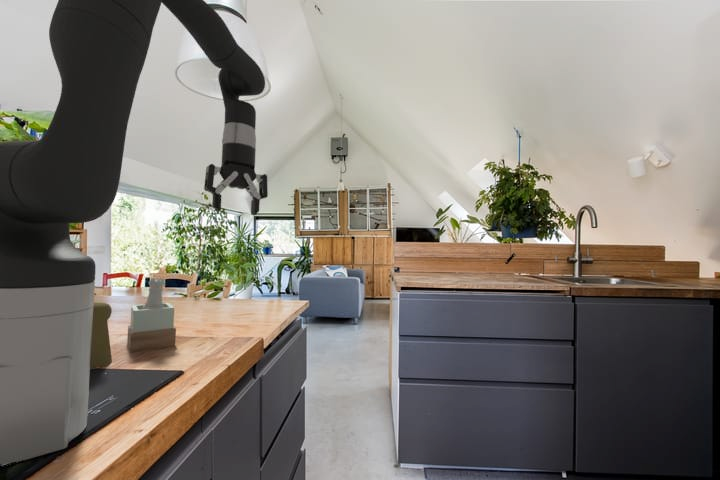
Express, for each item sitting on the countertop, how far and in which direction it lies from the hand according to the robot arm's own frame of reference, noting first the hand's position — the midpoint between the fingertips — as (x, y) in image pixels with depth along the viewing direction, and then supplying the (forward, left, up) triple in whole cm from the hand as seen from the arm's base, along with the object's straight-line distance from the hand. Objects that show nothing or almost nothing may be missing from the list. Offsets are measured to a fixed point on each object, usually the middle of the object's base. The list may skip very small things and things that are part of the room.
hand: (236, 213), depth 74 cm
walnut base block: (+6, +15, -30) cm, 35 cm away
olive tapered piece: (-2, +25, -30) cm, 40 cm away
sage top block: (+6, +15, -26) cm, 31 cm away
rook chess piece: (+6, +15, -24) cm, 29 cm away
